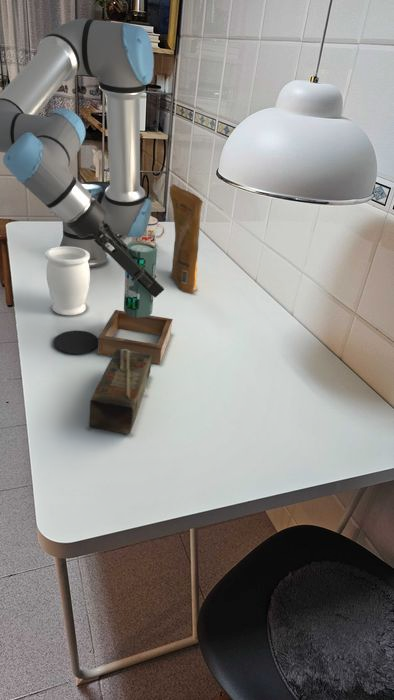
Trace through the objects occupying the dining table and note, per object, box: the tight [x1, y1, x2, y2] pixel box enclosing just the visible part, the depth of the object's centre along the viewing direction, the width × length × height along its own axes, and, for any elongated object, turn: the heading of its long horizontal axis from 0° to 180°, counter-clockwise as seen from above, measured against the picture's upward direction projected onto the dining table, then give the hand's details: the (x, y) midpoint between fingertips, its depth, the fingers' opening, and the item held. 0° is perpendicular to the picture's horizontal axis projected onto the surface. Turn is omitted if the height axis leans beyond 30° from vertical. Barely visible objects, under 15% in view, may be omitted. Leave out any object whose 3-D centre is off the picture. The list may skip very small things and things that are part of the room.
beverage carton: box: [88, 349, 152, 435], centre depth 90 cm, size 8×19×7 cm, turn 174°
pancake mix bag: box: [169, 183, 203, 294], centre depth 138 cm, size 7×19×28 cm, turn 20°
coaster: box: [53, 330, 98, 356], centre depth 108 cm, size 10×10×1 cm
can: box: [123, 242, 158, 318], centre depth 102 cm, size 6×6×15 cm
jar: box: [45, 246, 91, 316], centre depth 118 cm, size 11×10×15 cm
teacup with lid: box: [131, 215, 166, 247], centre depth 169 cm, size 12×9×12 cm
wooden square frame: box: [97, 309, 173, 365], centre depth 109 cm, size 14×14×4 cm
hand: (155, 286), depth 104 cm, fingers closed on can, 6 cm apart
